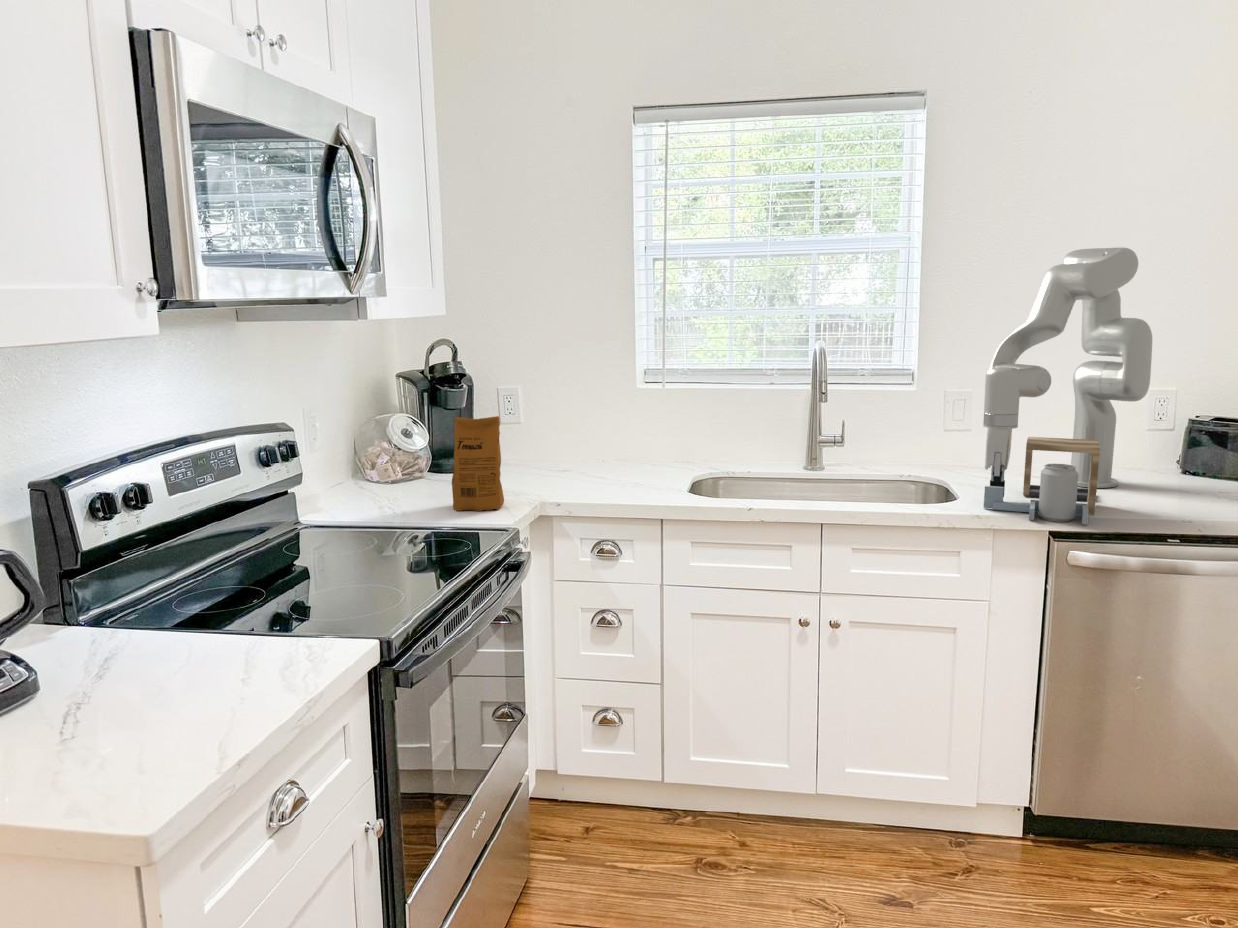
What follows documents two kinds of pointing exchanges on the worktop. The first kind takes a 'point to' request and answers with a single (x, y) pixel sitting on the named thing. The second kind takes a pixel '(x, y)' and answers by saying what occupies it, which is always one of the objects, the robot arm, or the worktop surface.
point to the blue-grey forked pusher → (1022, 504)
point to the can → (1058, 492)
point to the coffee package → (477, 465)
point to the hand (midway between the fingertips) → (996, 496)
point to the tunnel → (1065, 446)
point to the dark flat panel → (1081, 493)
